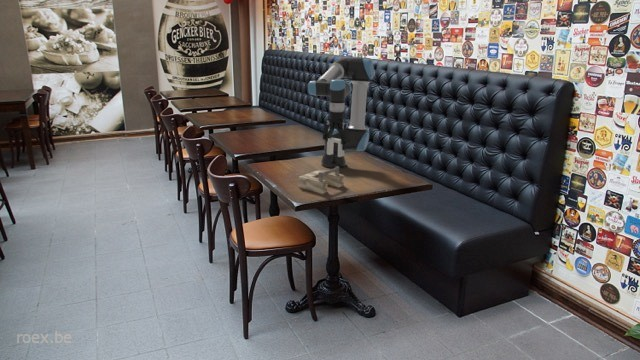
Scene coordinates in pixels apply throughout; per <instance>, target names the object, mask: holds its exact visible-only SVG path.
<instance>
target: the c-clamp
mask: <svg viewBox="0 0 640 360" xmlns="http://www.w3.org/2000/svg"><path fill="white" fill-rule="evenodd" d="M344 177H345V174H341V173H340V168H339V167H338V166H337V167H335V168H331V169H328V170H324V169H316V170H314V171H311V172H309V173H306V174H302V175H299V176H298V188H300V189H304V190H307V191H311V192H314V193H318V194H320V195H324V194H325V193H328V186H331V187H336V188H342V187H343V186H344V183H345V182H344V181H345V180H344Z"/></svg>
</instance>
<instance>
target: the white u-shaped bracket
mask: <svg viewBox="0 0 640 360" xmlns="http://www.w3.org/2000/svg"><path fill="white" fill-rule="evenodd" d="M334 143H338V157H340V147H341V143H342V142H341V139H336V138H328V155H331V154H333V147H334Z"/></svg>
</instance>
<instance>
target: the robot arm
mask: <svg viewBox="0 0 640 360" xmlns="http://www.w3.org/2000/svg"><path fill="white" fill-rule="evenodd" d="M327 69H328V70H327V71H325V73H323V74H322V76H320V77H319V78H318V79H317V80H310V81H309V82H308V84H307V91H308V95H311V96H315V97H318V96H320V97H329V112H328V113H329V114H328V115H329V116H328V118H329V120H324V123H323V124H324V126H323V127H324V128H323V133H322V140H323V141H324V152H323V156H322V159H321V163H320V164H321V166H322V167H324V168H331V169H334V168H335V167H337V166H338V167H339V169H340V168H343V167H346V165H347V161H346V158H345V151H346V150H347V151H356V152H364V151H365V150H366V149H367V147H368V144H369V139H370V132H368V131H367V128H366V126H365V124H366V122H365V121H366V109H367V96H368V85H370V83H371V80H373V79H374V76H375V68H374V63H373V60H372V59H370V58H363V57H360V58H359V57H343V58H340V59H338V60H336V61H334V62H332V63H331V64H330V65H329V67H328V68H327ZM344 79H350V82H351V83H349V82H347V81H345V80H344ZM351 84H352V85H351ZM351 92H352V93H351ZM350 94H352V96H351V108H350V122H349V123H350V124H349V123H346V122H345V121H344V119H345V107H346V106H345V105H346V104H345V100H346V97H348V96H349V95H350ZM328 138H336V139H341V142H342V143H341V147H340V157H338V143H334V147H333V154H331V155H328Z"/></svg>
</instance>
